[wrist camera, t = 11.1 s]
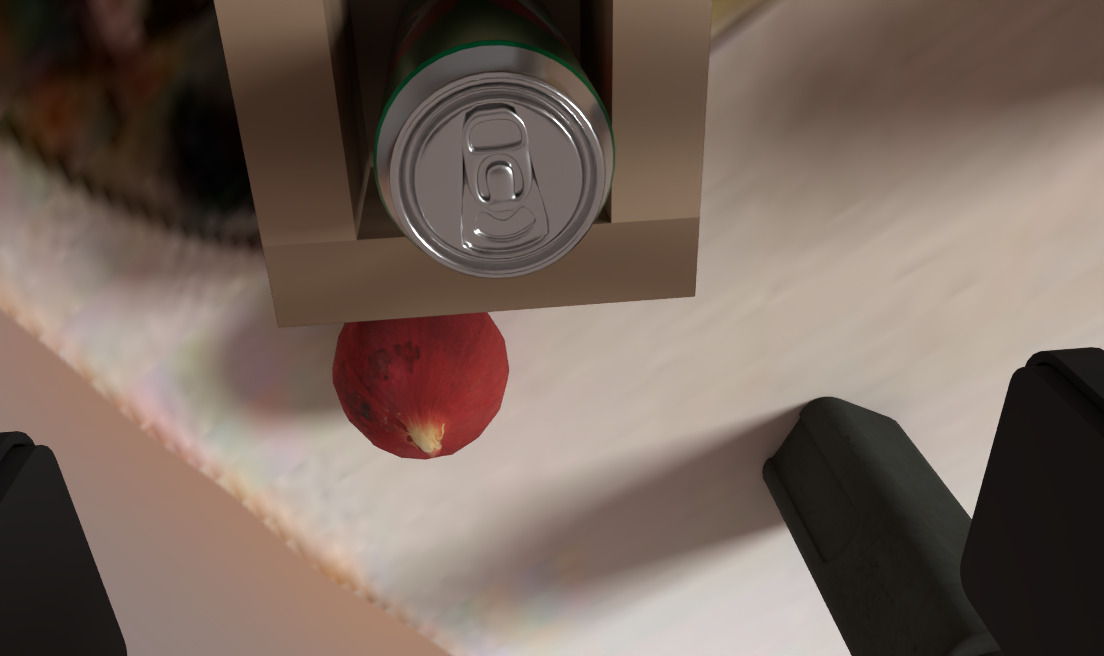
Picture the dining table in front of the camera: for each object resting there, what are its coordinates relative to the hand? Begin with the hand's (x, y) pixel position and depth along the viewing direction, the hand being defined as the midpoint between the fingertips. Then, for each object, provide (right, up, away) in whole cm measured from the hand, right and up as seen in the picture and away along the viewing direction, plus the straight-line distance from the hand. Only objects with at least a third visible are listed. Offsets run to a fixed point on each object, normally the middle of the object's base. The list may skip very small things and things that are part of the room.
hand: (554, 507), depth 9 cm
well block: (-3, +11, +20) cm, 23 cm away
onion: (-5, +2, +25) cm, 25 cm away
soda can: (-2, +11, +19) cm, 22 cm away
